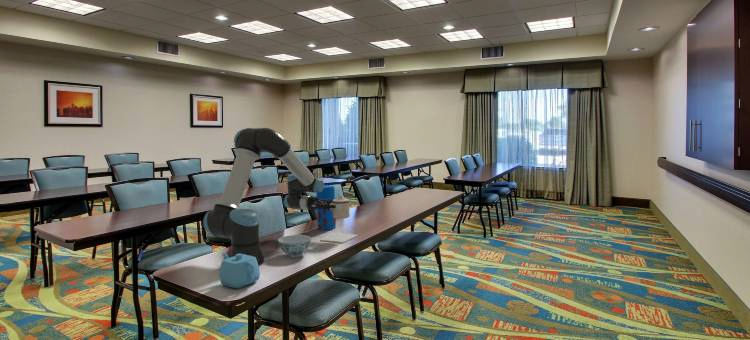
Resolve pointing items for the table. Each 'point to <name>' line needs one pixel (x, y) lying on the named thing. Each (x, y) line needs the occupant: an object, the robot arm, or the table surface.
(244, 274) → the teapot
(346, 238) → the mat
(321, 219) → the blue tall box
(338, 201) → the teacup with lid
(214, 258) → the table surface
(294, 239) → the chinaware
